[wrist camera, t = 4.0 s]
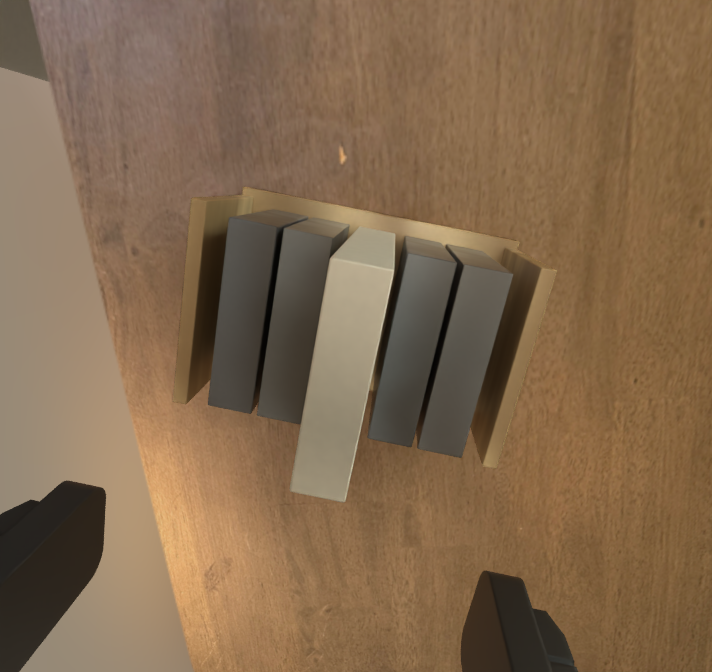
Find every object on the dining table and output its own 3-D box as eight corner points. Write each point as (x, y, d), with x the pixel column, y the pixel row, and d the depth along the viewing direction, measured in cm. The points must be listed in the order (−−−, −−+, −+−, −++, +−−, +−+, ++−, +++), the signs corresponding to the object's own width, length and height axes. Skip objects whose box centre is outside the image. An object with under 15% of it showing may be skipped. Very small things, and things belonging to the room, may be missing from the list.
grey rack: (226, 355, 37) (167, 414, 28) (247, 186, 34) (187, 186, 24) (470, 405, 37) (495, 482, 27) (516, 240, 33) (564, 261, 24)
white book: (332, 369, 36) (288, 492, 21) (358, 226, 33) (329, 256, 18) (365, 376, 36) (344, 503, 21) (395, 233, 33) (394, 269, 18)
